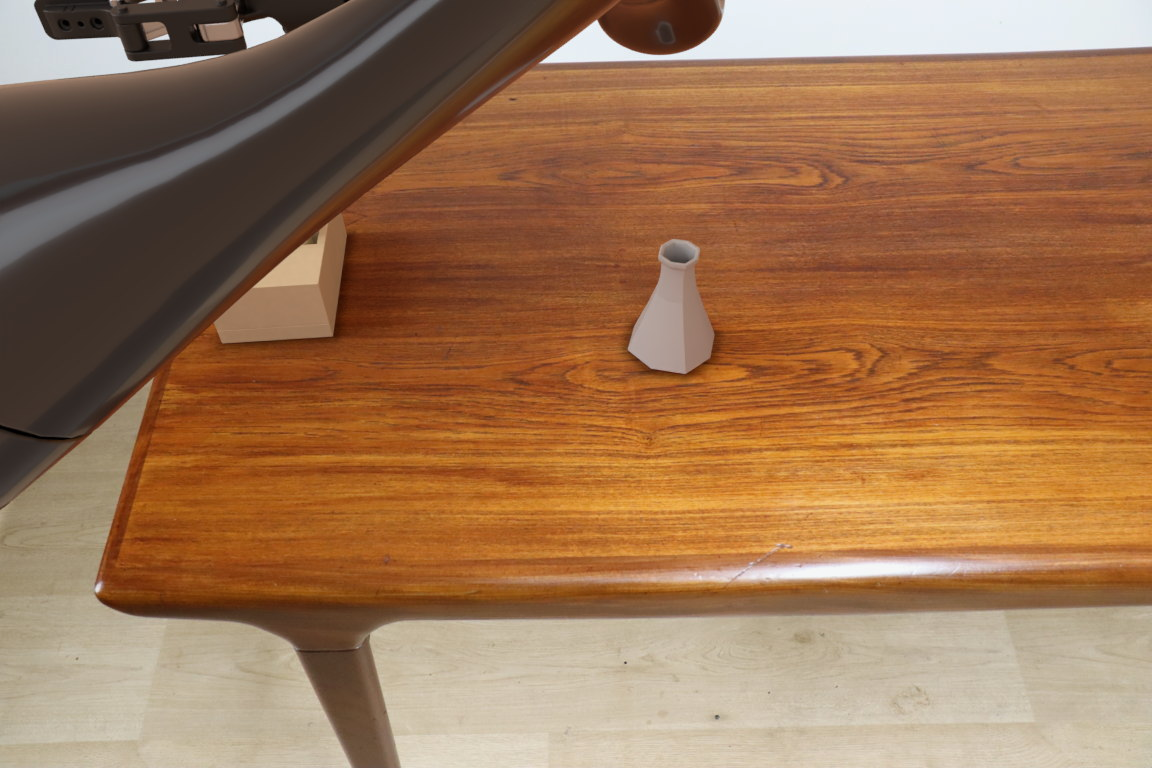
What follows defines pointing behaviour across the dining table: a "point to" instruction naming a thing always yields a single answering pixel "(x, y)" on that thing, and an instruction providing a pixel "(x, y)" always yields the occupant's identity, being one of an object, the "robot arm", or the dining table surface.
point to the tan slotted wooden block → (292, 294)
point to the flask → (674, 315)
